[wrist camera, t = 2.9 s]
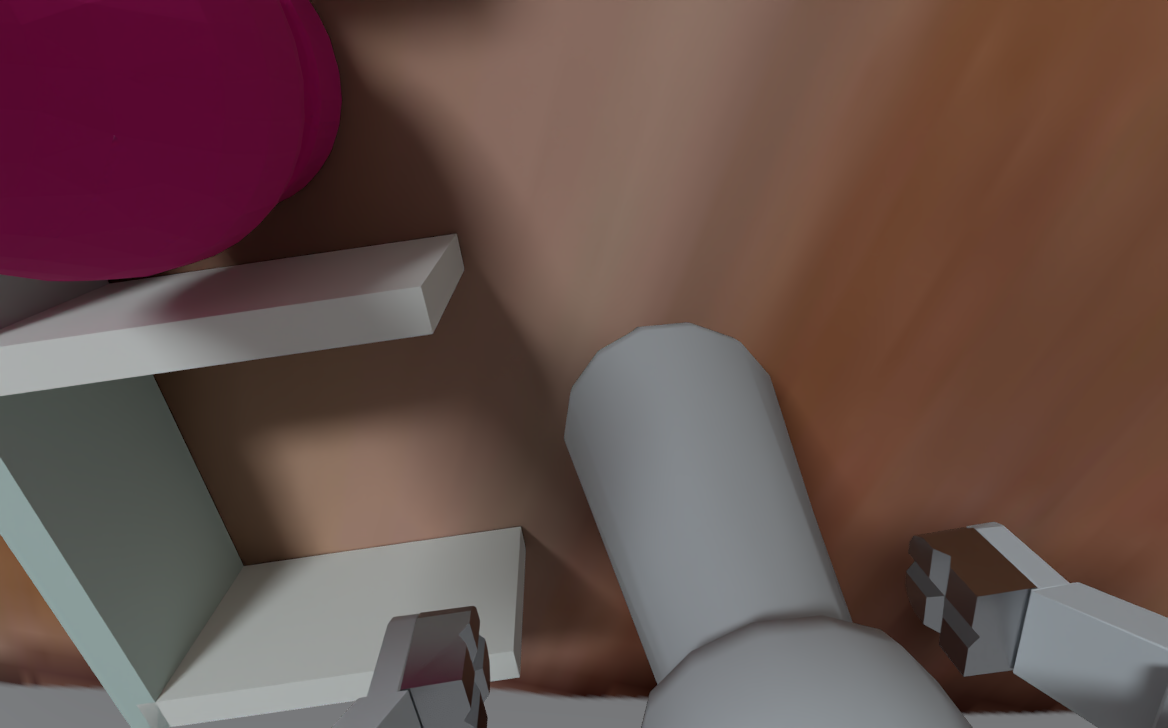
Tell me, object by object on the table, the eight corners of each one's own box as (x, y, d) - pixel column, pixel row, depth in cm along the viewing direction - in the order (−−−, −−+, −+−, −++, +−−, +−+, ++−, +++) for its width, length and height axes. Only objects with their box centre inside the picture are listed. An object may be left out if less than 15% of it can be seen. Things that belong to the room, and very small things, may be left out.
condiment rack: (348, -258, 12) (227, -479, 7) (525, 549, 21) (520, 676, 16) (-166, -184, 12) (-601, -358, 7) (225, 592, 21) (134, 732, 16)
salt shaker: (782, 335, 18) (1250, 799, 6) (701, 486, 20) (929, 1052, 8) (602, 270, 17) (737, 682, 5) (535, 437, 19) (517, 1012, 7)
